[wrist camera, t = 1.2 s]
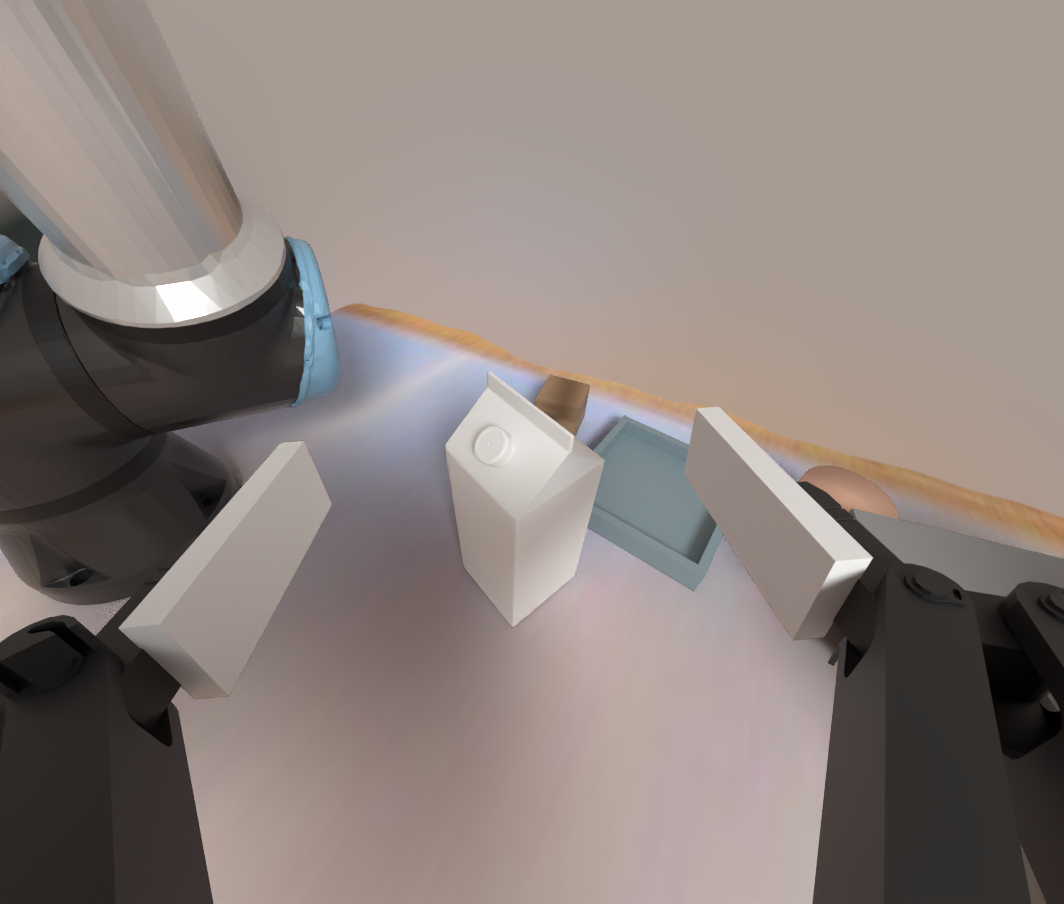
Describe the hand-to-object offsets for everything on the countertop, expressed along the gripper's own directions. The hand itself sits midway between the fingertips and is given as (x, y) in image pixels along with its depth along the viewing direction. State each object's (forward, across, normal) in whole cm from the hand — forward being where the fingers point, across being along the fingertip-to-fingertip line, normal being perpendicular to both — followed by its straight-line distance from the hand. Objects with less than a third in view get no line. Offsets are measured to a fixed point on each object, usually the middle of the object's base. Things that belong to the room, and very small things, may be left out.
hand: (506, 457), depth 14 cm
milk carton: (+12, -1, -21) cm, 24 cm away
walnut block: (+31, +6, -17) cm, 36 cm away
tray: (+20, +14, -20) cm, 31 cm away
